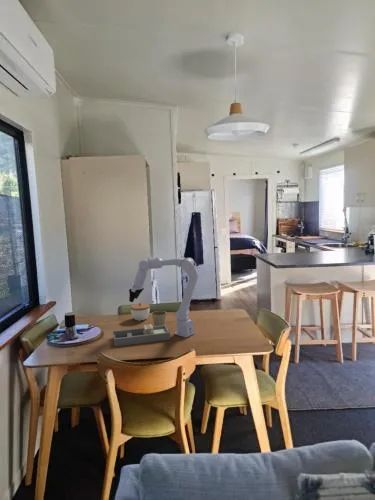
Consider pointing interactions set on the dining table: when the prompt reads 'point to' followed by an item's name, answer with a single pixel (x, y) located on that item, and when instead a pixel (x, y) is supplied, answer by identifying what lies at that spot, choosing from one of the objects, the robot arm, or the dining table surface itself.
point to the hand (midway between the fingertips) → (133, 299)
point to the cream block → (148, 329)
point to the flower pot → (159, 317)
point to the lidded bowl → (140, 311)
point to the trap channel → (132, 337)
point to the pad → (159, 330)
